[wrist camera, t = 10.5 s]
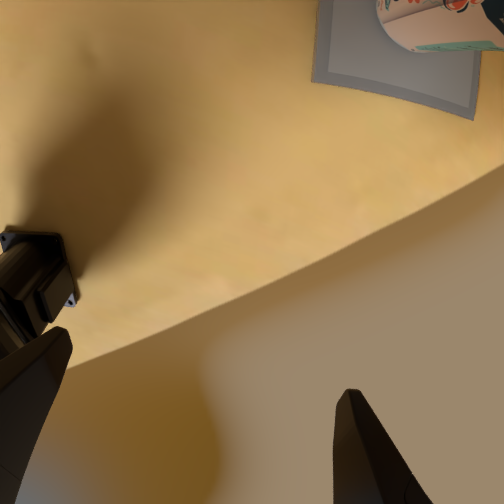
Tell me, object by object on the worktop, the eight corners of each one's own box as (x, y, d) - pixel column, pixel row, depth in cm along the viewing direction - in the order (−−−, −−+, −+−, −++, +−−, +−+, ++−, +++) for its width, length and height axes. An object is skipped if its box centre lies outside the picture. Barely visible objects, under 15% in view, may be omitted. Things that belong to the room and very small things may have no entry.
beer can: (405, -31, 11) (545, -90, 1) (455, 29, 13) (613, 30, 2) (355, 6, 13) (496, -65, 2) (411, 68, 15) (581, 89, 4)
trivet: (310, 82, 16) (314, 82, 15) (321, -74, 11) (324, -80, 10) (466, 118, 17) (474, 121, 16) (473, -20, 11) (481, -22, 10)
